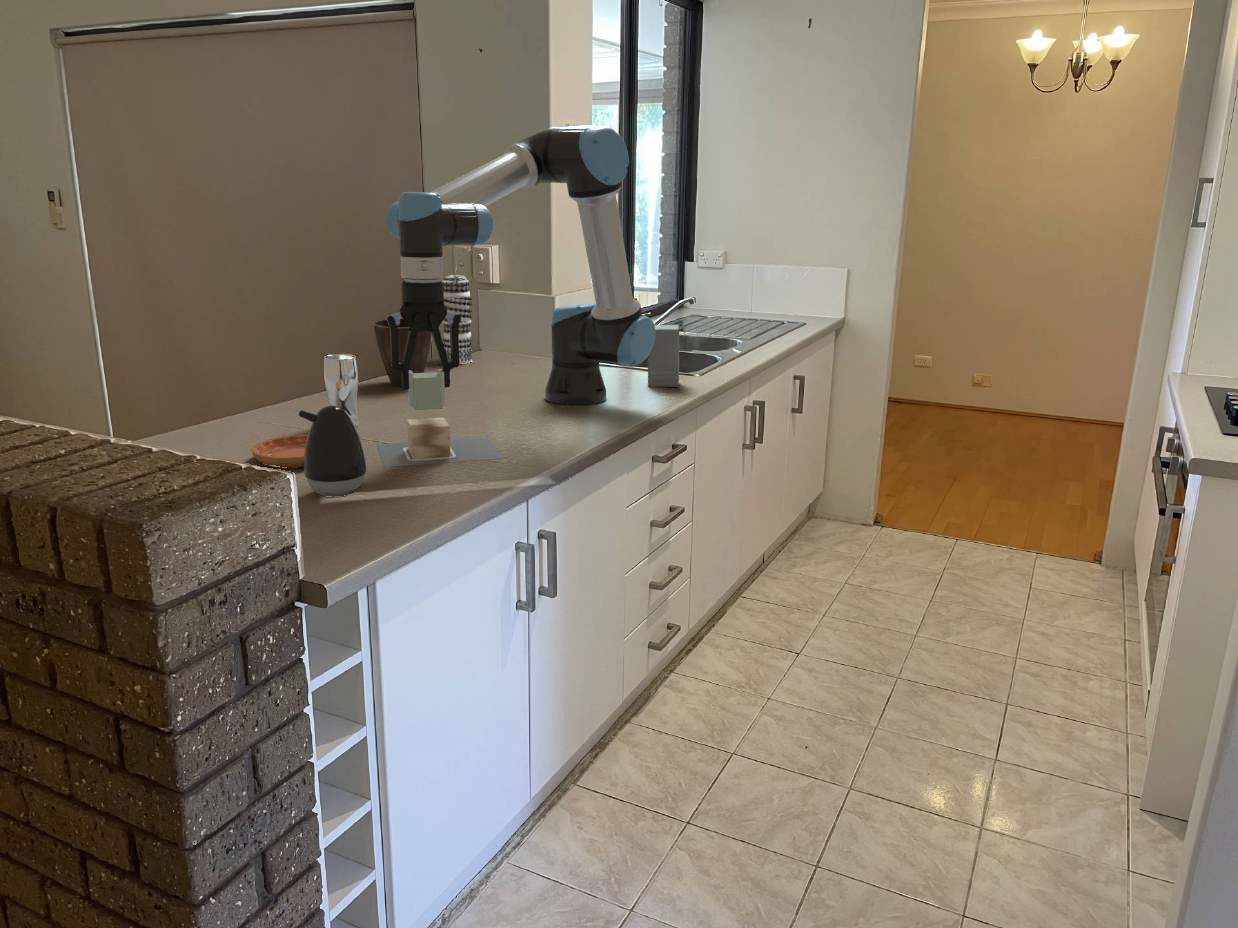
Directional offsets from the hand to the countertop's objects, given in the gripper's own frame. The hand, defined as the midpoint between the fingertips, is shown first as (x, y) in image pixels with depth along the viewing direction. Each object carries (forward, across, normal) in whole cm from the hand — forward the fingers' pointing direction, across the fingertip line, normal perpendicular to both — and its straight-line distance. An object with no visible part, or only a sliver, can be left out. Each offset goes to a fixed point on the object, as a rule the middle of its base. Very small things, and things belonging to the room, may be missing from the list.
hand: (426, 404), depth 179 cm
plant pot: (+11, +4, +72) cm, 72 cm away
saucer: (+11, -24, +7) cm, 27 cm away
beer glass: (+11, -14, +31) cm, 36 cm away
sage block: (0, 0, 0) cm, 0 cm away
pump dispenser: (+11, -18, -16) cm, 26 cm away
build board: (+11, +2, +1) cm, 11 cm away
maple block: (+10, 0, 0) cm, 10 cm away
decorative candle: (+11, +22, +99) cm, 102 cm away
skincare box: (+10, +69, +54) cm, 88 cm away
